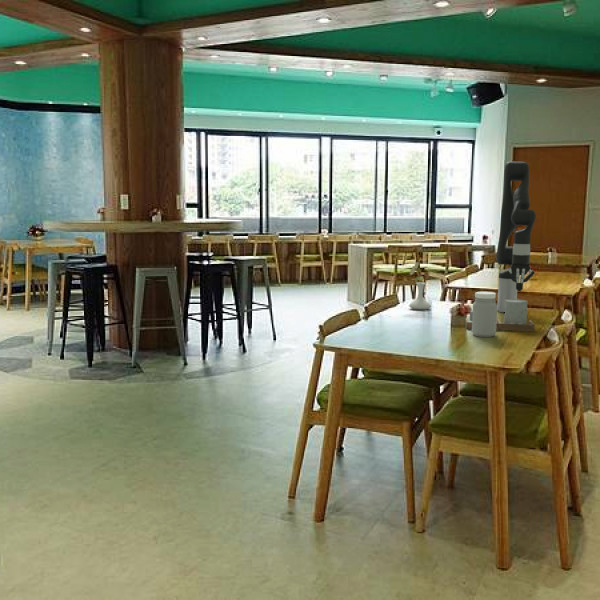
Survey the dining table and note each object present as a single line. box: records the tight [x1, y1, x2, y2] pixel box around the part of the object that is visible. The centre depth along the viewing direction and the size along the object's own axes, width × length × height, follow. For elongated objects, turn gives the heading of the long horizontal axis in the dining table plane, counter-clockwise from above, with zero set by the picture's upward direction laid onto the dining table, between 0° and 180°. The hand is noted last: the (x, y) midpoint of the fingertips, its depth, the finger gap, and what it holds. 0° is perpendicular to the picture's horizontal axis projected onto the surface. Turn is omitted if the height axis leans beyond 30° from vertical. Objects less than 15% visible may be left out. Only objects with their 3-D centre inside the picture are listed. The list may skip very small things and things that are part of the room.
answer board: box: [465, 317, 535, 332], centre depth 287 cm, size 12×28×3 cm, turn 78°
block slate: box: [469, 309, 473, 321], centre depth 309 cm, size 4×4×4 cm
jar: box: [471, 291, 498, 338], centre depth 271 cm, size 10×10×18 cm
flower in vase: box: [408, 261, 432, 311], centre depth 336 cm, size 13×11×25 cm
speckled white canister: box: [503, 298, 528, 324], centre depth 287 cm, size 10×10×12 cm
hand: (519, 290), depth 299 cm, fingers closed
